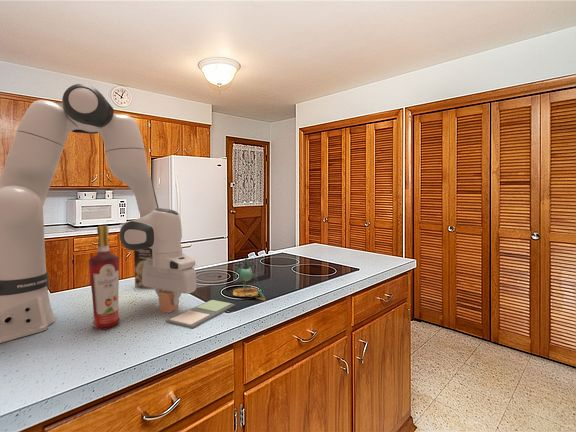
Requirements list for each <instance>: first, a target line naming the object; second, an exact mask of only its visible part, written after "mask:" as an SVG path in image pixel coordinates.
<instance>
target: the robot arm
mask: <svg viewBox="0 0 576 432" xmlns="http://www.w3.org/2000/svg"><path fill="white" fill-rule="evenodd" d="M70 133H76V134H77V133H78V134H89V135H94V134H99V135H100V137H101V138H102V141H103V142H102V143H103V144H104V145H103V146H104V151H105V152H104V153H105V158H106V163H107V166H108V169H109V171H110V173H111V175H113V176H114V177H115V178H116V179H117V180H119V181H121V182H122V183H124V184H125V185H126V186H128V188H130V190H131V191H132V192H133V194H134V197H135V201H136V204H137V205H136V206H137V208H138V212H139V217H138V218H136V219H133V220H130V221H127V222H125V223H124V224H123V225H122V226H121V227H120V230H119V235H118V236H119V241H120V243H121V245H122V246H123V247H124V248H125V249H126V250H129V251H134V250H135V251H138V250H143V249H146V248H151V249H152V257H153V259H152V258H147V259H146V260H145V261H144V267H143V272H142V284H143V285H144V286H146V287H151V288H150V289H155V288H156V289H155V293H156V295H157V297H158V298H159V292H161V291H163V290H168V291H173V294H174V295H175V296H174V299H171V302H172V303H171V304H172V305H177V304H178V305H179V303H180V297H181V295H182V294H186V295H189V294H191V293H194V292H195V291H196V289H197V287H198V286H197V285H198V284H197V272H196V269H195V268H194V267H195V266H196V260H195V259H193V258H191V257H190V256H189V255H187V254H185V253H183V248H182V243H181V242H182V237H183V232H182V231H183V230H182V220H181V217H180V214H179V212H177V211H176V210H174V209H170V208H161V207H159V204H158V200H157V195H156V192H155V188H154V184H153V181H152V177H151V174H150V171H149V165H148V162H147V160H148V159H147V155H146V150H145V144H144V140H143V136H142V133H141V130H140V127H139V123H138V122H137V120H136V119H134V117H132V116H129V115H127V114H119V113H115V110H114V108H113V106H112V105H111V104H110V103H109V101H108V100H107V98H106V97H105V96H104V95H103V94H102V93H101V92H100V91H99V90H98V89H96V88H95V87H93V86H91V85H89V84H86V83H85V84H84V83H76V84H73V85H71V86H69V87H68V88H66V90H65V91H64V92H63V95H62V98H61V102H59V103H58V102H54V101H51V100H47V99H46V100H45V99H38V100H35V101H33V102H32V103H30V105H29V106H28V108H27V110H25V113H24V114H23V116H22V118H21V120H20V122H19V124H18V126H17V128H16V132H15V134H14V137H13V140H12V143H11V146H10V148H9V151H8V154H7V155H6V159H5V163H4V166H3V170H2V173H1V177H0V344H1V343H5V342H8V341H9V342H10V341H13V340H15V339H19V338H23V337H26V336H27V337H28V336H31V335H34V334H37V333H42V332H44V331H46V330H48V328H49V327H50V325H51V324H53V323H54V322H55V321H56V319H57V318H56V316H55V314H54V311H53V309H52V305H51V302H50V296H49V295H50V294H49V288H50V285H49V284H50V283H49V282H50V281H49V272H47V267H46V266H47V265H46V263H47V262H46V246H45V227H44V226H45V224H44V205H45V201H46V199H47V195H48V193H49V191H50V188H51V184H52V183H53V180H54V177H55V175H56V171H57V168H58V165H59V163H60V160H61V157H62V154H63V151H64V147H65V145H66V142H67V140H68V137H69V135H70Z"/></svg>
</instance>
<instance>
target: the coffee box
mask: <svg viewBox="0 0 576 432" xmlns="http://www.w3.org/2000/svg"><path fill="white" fill-rule="evenodd" d="M133 253H134V254H133V257H134V261H133V262H134V288H135V289H136V288H137V289H152V288H151V287H146V286H144V285H143V284H142V272H143V267H144V261H145V260H146V259H147V258H152V259H153V257H152V249H151V248H146V249H143V250H138V251H135V250H133ZM154 290H156V288H154Z"/></svg>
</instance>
